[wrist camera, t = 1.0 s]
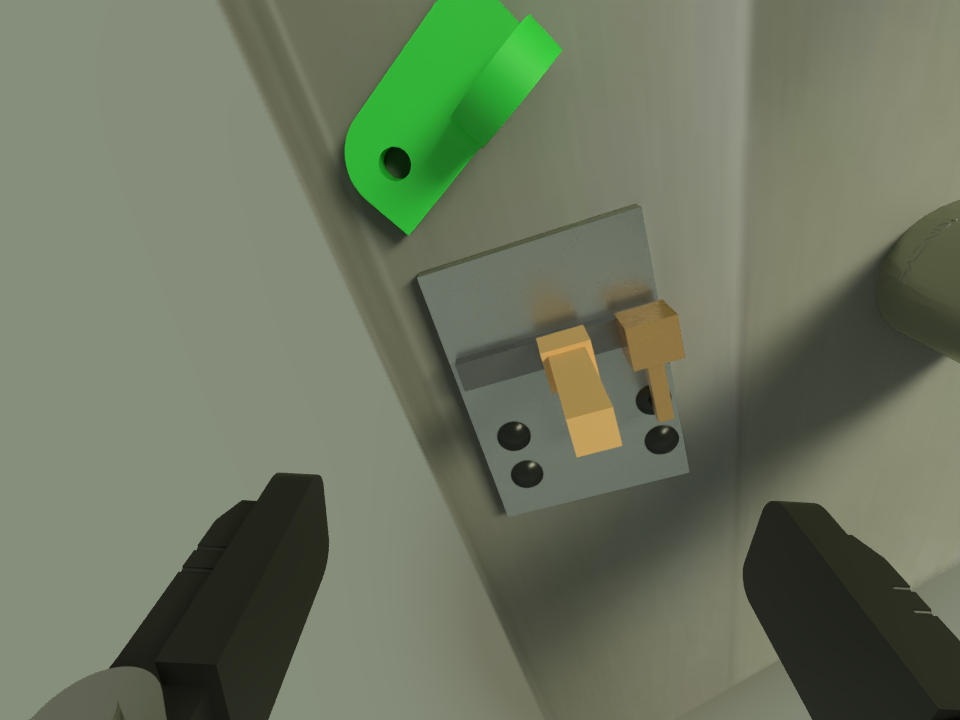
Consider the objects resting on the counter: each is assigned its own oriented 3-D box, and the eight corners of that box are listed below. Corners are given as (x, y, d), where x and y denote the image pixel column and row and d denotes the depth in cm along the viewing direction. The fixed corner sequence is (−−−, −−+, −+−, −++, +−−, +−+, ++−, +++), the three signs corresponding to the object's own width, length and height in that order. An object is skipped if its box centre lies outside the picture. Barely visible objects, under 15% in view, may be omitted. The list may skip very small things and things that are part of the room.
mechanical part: (464, -27, 26) (458, -83, 19) (547, 62, 28) (571, 40, 21) (332, 161, 30) (285, 173, 23) (412, 229, 32) (392, 260, 25)
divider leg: (579, 318, 32) (620, 399, 23) (605, 418, 36) (650, 526, 26) (534, 331, 33) (555, 416, 23) (563, 429, 36) (592, 539, 26)
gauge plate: (635, 203, 31) (661, 217, 26) (683, 462, 39) (709, 506, 34) (418, 272, 33) (409, 296, 28) (507, 506, 41) (510, 553, 36)
